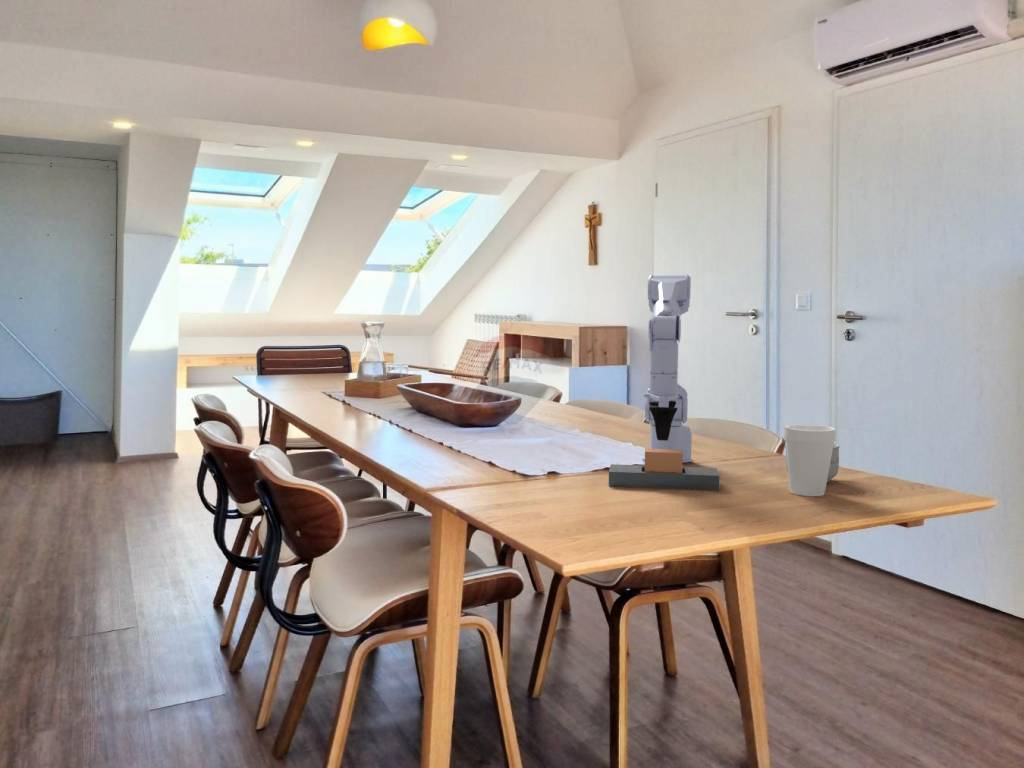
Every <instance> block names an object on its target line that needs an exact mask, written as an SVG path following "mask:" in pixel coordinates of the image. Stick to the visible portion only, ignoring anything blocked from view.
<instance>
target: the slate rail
mask: <svg viewBox="0 0 1024 768" xmlns="http://www.w3.org/2000/svg"><path fill="white" fill-rule="evenodd" d="M609 466H610V467H609V471H608V487H624V488H645V489H646V488H647V489H671V490H672V489H673V490H675V489H676V490H694V491H695V490H696V491H699V490H700V491H716V492H717V491H720V473H719V471H718V468H716V467H699V466H698V467H695V466H694V467H692V466H691V467H690V466H683V469H682V473H676V472H656V471H651V472H645V464H643V465H642V464H641V465H638V464H637V465H636V464H616V463H615V464H613V463H612V464H610V465H609Z"/></svg>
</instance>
